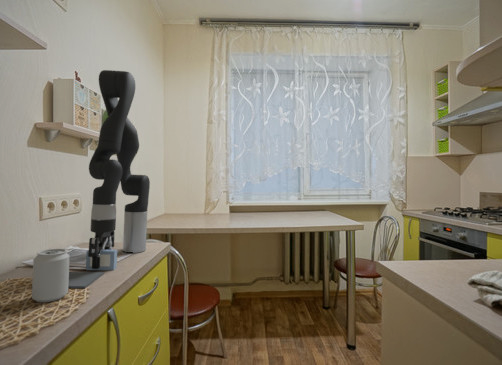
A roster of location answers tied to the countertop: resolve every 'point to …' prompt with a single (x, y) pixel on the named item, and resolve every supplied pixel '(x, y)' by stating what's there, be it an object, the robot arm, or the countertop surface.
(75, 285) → the mat
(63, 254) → the can
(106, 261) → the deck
